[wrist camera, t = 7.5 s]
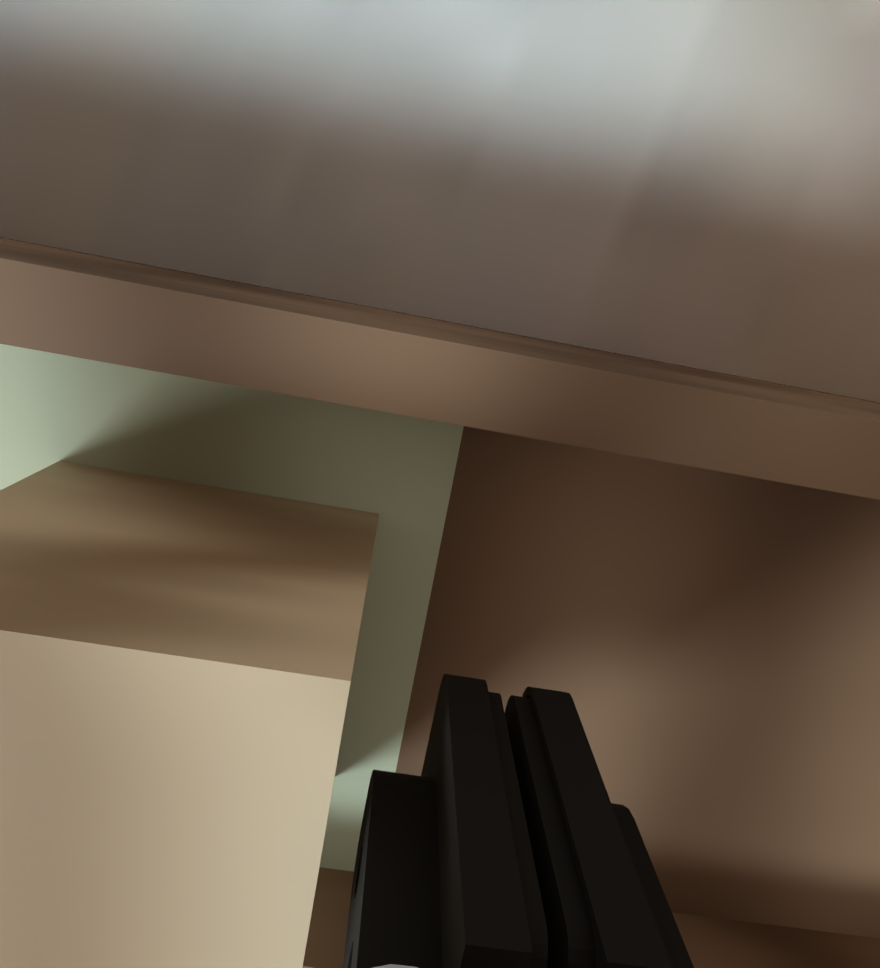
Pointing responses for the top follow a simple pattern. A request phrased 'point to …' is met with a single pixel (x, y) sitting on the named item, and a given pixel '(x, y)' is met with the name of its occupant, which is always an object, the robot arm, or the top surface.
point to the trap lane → (528, 561)
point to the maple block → (169, 717)
